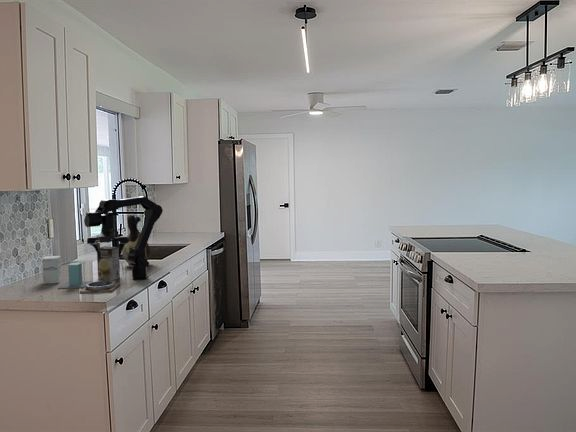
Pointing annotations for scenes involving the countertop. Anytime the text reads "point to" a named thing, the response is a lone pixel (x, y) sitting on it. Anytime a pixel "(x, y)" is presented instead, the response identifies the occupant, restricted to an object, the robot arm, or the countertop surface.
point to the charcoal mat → (66, 286)
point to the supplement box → (51, 269)
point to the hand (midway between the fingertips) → (109, 257)
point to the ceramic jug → (133, 239)
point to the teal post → (75, 274)
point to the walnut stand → (99, 290)
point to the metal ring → (100, 285)
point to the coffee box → (108, 263)
